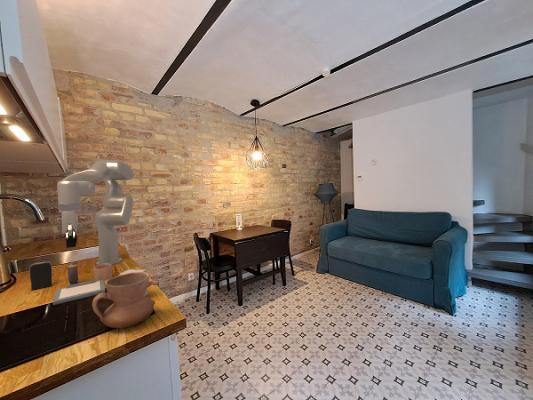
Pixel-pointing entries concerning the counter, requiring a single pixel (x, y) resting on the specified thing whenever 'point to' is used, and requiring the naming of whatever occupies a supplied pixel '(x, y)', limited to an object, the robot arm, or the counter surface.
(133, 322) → the ceramic jug
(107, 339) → the counter surface
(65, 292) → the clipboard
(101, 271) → the pen cup
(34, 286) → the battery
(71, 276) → the marker
